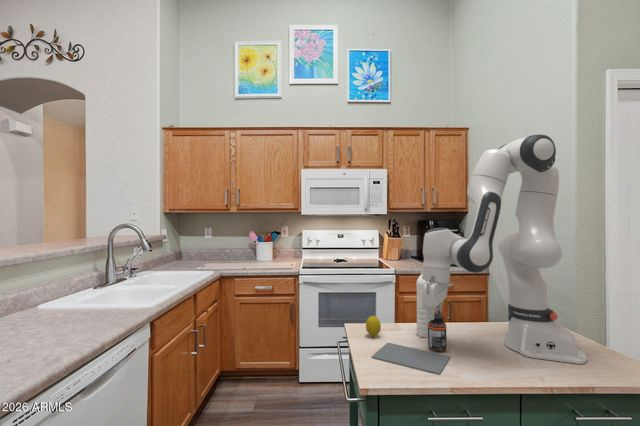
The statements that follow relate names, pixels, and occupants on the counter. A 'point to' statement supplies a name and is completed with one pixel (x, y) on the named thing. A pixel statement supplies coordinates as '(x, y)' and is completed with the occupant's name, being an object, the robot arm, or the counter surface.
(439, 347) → the supplement bottle
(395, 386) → the counter surface
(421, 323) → the water bottle
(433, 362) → the mat
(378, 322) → the lemon
